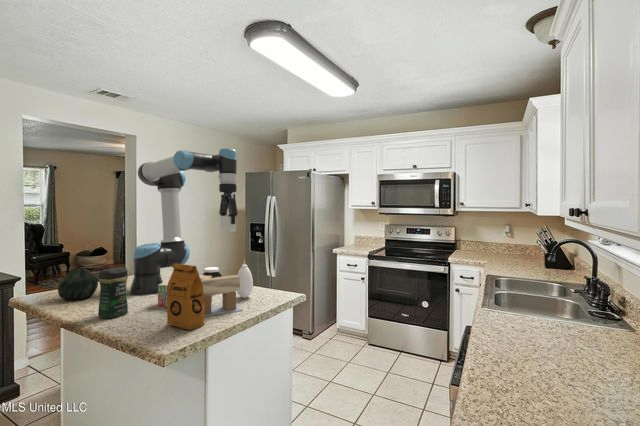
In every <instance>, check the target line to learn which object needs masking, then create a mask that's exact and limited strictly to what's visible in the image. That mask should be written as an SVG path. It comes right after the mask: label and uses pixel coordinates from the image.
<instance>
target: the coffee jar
mask: <svg viewBox="0 0 640 426" xmlns="http://www.w3.org/2000/svg"><path fill="white" fill-rule="evenodd" d="M128 272H129V271H128V269H127V267H121V266H116V267H110V268H107V269H101V270H100V271H99V273H98V284H99V286H100V287H99V288H100V289H99V290H100V291H99V302H98V303H99V305H98V312H97V313H98V314H97V316H98V317H99V318H101V319H105V320H106V319H114V318H118V317H120V316H123V315H125V314H127V313H128V312H129V307H128V295H127V281H128V277H129V275H128Z"/></svg>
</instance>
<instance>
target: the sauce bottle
mask: <svg viewBox="0 0 640 426" xmlns="http://www.w3.org/2000/svg"><path fill="white" fill-rule="evenodd" d="M245 260H246V259H244V260H243V264H242V265H241V267H240V268H239V270H238V272H237V274H236V275H237V276H240V291H236V294H237V295H238V296H240V298H242V299H247V298H248V297H249V296H250V295H251V293H252V291H253V288H254V280H253V276H252V271H251V270H250V268H249V266H248V265H247V264H246V261H245Z"/></svg>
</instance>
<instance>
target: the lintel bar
mask: <svg viewBox="0 0 640 426" xmlns="http://www.w3.org/2000/svg"><path fill="white" fill-rule="evenodd" d="M201 282H202V285H203V293H204V297H205V296H211V295H212V296H217V295H222V294H223V293H229V292H237V291H240V276H237V274H233V275H232V274H231V275H225V276H222V277H216V278H209V279H202V280H201Z"/></svg>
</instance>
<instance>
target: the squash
mask: <svg viewBox="0 0 640 426" xmlns="http://www.w3.org/2000/svg"><path fill="white" fill-rule="evenodd" d="M98 285H99V279H98V277H97V276H96V275H95V274H94V273H93V272H91V271H90V270H89V269H87V268H85V267H79V268H77V269H74V270H72V271H69V272H67V273H66V274H64V276H62V278H61V279H60V280H59V283H58V285H57V286H58V287H57V292H58V293H57V294H58V296H59V297H60V298H61V299H63V300H64V301H65V300H73V299H74V300H78V299H79V300H86V299H88V298H91V297H92V296H93V295H94V294H95V293H96V290H97V288H98V287H99V286H98Z"/></svg>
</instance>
